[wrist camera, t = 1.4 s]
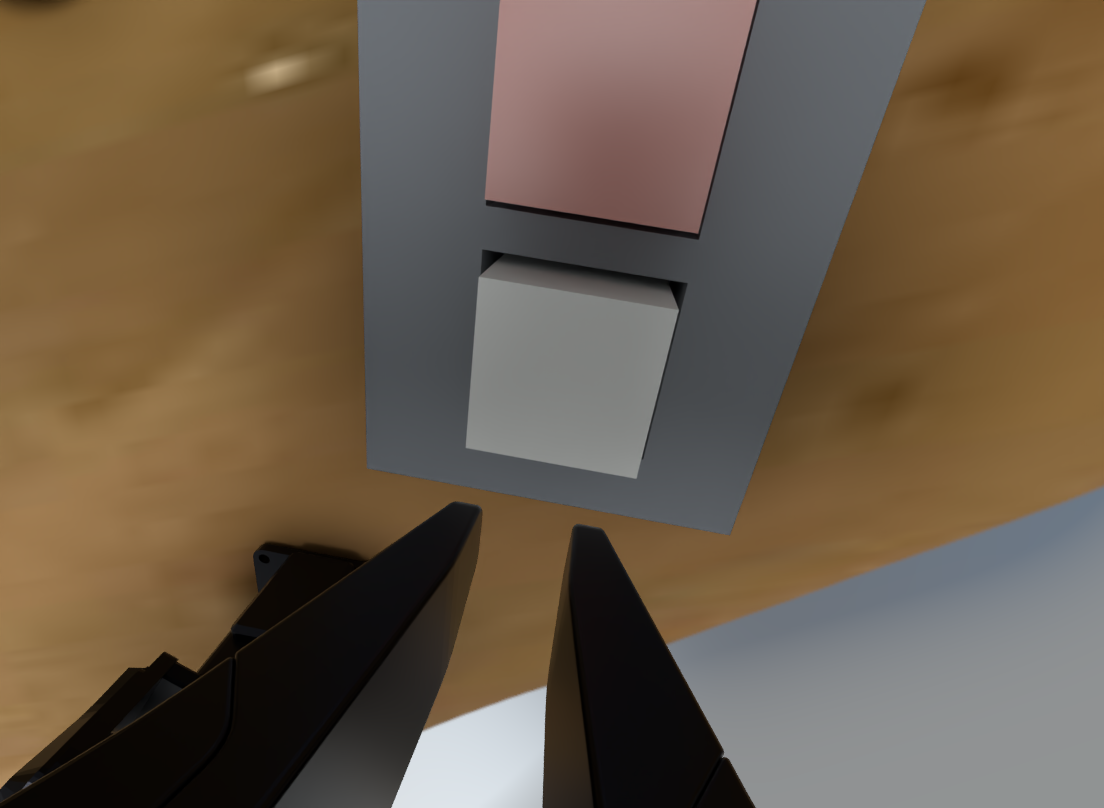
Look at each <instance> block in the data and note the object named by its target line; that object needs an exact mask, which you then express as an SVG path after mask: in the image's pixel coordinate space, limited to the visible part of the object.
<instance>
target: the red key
mask: <svg viewBox="0 0 1104 808" xmlns="http://www.w3.org/2000/svg"><path fill="white" fill-rule="evenodd" d="M756 1H757V0H500V6H499V19H498V32H497V45H496V58H495V71H494V84H493V97H492V110H491V123H490V136H489V149H488V162H487V175H486V188H485V200H492V201H498V202H504V203H510V204H516V205H523V206H529V207H535V208H541V209H548V210H554V211H560V212H566V213H573V214H579V215H585V216H591V217H598V218H604V219H610V220H616V221H623V222H629V223H635V224H641V225H647V226H654V227H660V228H666V229H672V230H679V231H685V232H691V233H697V234H698V232H699V228H700V224H701V220H702V216H703V212H704V208H705V204H706V200H707V196H708V192H709V188H710V184H711V180H712V176H713V172H714V168H715V164H716V160H717V156H718V152H719V148H720V144H721V140H722V136H723V132H724V128H725V124H726V120H727V117H728V113H729V109H730V105H731V101H732V97H733V93H734V89H735V85H736V81H737V77H738V73H739V69H740V65H741V61H742V57H743V53H744V49H745V45H746V41H747V37H748V33H749V29H750V25H751V21H752V17H753V13H754V9H755V5H756Z"/></svg>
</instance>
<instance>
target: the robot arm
mask: <svg viewBox="0 0 1104 808" xmlns="http://www.w3.org/2000/svg"><path fill="white" fill-rule="evenodd" d="M481 523H482V509H481V507H480V506H478V505H474V504H468V503H463V502H452V503H450V504H449V505H447V506H446V507H445V508H443V509H442V510H440V511H439V512H437V513H436V514H434V515H433V516H432V517H430V518H429V519H427V520H426V521H424V522H423V523H422V524H420V525H419V526H417V527H416V528H414V529H413V530H411V531H410V532H409V533H407V534H406V535H404V536H403V537H401V538H400V539H398V540H397V541H396V542H394V543H393V544H391V545H390V546H388V547H387V548H386V549H384V550H383V551H381V552H380V553H378V554H377V555H375V556H374V557H373V558H371V559H370V560H368V561H367V562H360V561H354V560H349V559H344V558H339V557H334V556H328V555H323V554H318V553H313V552H308V551H302V550H297V549H292V548H287V547H282V546H276V545H271V544H263V545H261V546H260V547H259V548H258V549H257V550H256V551H255V553H254V554H253V559H254V566H255V572H256V579H257V586H258V594H257V596H256V597H255V598H254V599H253V600H252V602H251V603H250V604H249V605H248V607H247V608H246V609H245V610H244V611H243V613H242V614H241V615H240V616H239V618H238V619H237V620H236V621H235V622H234V624H233V625H232V627H231V631H230V632H229V633H228V634H227V636H226V637H225V638H224V639H223V640H222V642H221V643H220V644H219V645H218V647H217V648H216V649H215V650H214V652H213V653H212V654H211V655H210V656H209V658H208V659H207V660H206V661H205V663H204V664H203V665H202V666H201V668H200V669H199V670H198V671H197V673H196V672H194V671H192V670H191V669H189V668H187V667H185V666H183V665H182V664H180V663H178V662H177V661H178V659H177V658H176V657H174V656H172V655H170V654H168V653H167V652H163V653H162V654H161V655H160V656H159V657H158V658H157V659H156V660H155V661H154V662H153V663H152V664H151V665H150V666H149V667H148V666H147V667H146V668H128V669H127V670H126V671H125V672H124V673H123V674H122V675H121V676H120V677H119V678H118V680H117V681H116V682H115V683H114V684H113V685H112V686H111V687H110V688H109V689H108V690H107V691H106V692H105V693H104V694H103V695H102V696H101V697H100V698H99V699H98V700H97V701H96V702H95V704H94V705H93V706H92V707H90V708H89V709H88V710H87V711H86V712H85V713H84V714H83V715H82V716H81V717H80V718H79V719H78V720H77V721H76V722H74V723H73V724H72V725H71V726H70V727H69V728H67V729H66V730H65V731H64V732H63V733H62V734H61V735H59V736H58V737H57V738H56V739H55V740H54V741H52V742H51V743H50V744H49V745H48V746H47V747H45V748H44V749H43V750H42V751H41V752H40V753H39V754H37V755H36V756H35V757H34V758H33V759H32V760H30V761H29V762H28V763H27V764H26V765H25V766H24V767H22V768H21V769H20V770H19V771H18V772H17V773H15V774H14V775H13V776H12V777H11V778H10V779H9V780H8V781H7V782H6V783H5V785H4V786H3V787H2V788H1V789H0V808H391V807H392V804H393V802H394V800H395V797H396V795H397V792H398V790H399V787H400V785H401V782H402V780H403V777H404V775H405V772H406V770H407V767H408V765H409V762H410V760H411V758H412V755H413V752H414V750H415V748H416V745H417V743H418V740H419V738H420V735H421V733H422V730H423V728H424V726H425V723H426V721H427V718H428V716H429V713H430V711H431V708H432V706H433V703H434V701H435V698H436V696H437V693H438V691H439V689H440V686H441V683H442V681H443V678H444V675H445V673H446V670H447V667H448V664H449V660H450V657H451V654H452V651H453V647H454V644H455V640H456V636H457V633H458V629H459V626H460V622H461V618H462V615H463V611H464V607H465V604H466V600H467V597H468V593H469V589H470V586H471V582H472V579H473V575H474V571H475V568H476V564H477V559H478V553H479V543H480V533H481ZM544 747H545V748H544V779H543V808H755V806H754V804H753V802H752V801H751V799H750V797H749V795H748V793H747V792H746V790H745V788H744V786H743V784H742V782H741V781H740V779H739V777H738V775H737V773H736V771H735V770H734V768H733V766H732V764H731V762H730V760H729V759H728V758H725V757H723V755H724V751H723V748H722V746H721V744H720V743H719V741H718V739H717V737H716V735H715V733H714V732H713V730H712V728H711V726H710V724H709V723H708V721H707V719H706V717H705V715H704V713H703V711H702V710H701V708H700V706H699V704H698V702H697V701H696V699H695V697H694V695H693V693H692V691H691V689H690V688H689V686H688V684H687V682H686V680H685V679H684V677H683V675H682V673H681V671H680V669H679V667H678V666H677V664H676V662H675V660H674V659H673V657H672V655H671V653H670V651H669V649H668V647H667V645H666V644H665V642H664V640H663V638H662V636H661V634H660V633H659V631H658V629H657V627H656V625H655V623H654V622H653V620H652V618H651V616H650V614H649V612H648V611H647V609H646V607H645V605H644V603H643V601H642V600H641V598H640V596H639V594H638V592H637V590H636V589H635V587H634V585H633V583H632V581H631V580H630V578H629V576H628V574H627V572H626V570H625V569H624V567H623V565H622V563H621V561H620V559H619V558H618V556H617V554H616V552H615V550H614V548H613V547H612V545H611V543H610V541H609V539H608V537H607V536H606V534H605V532H604V531H603V530H602V529H601V528H598V527H592V526H587V525H581V524H576V525H574V527H573V529H572V533H571V538H570V543H569V548H568V553H567V558H566V563H565V569H564V574H563V580H562V586H561V593H560V600H559V606H558V613H557V620H556V626H555V633H554V640H553V646H552V653H551V660H550V667H549V674H548V683H547V695H546V714H545V745H544ZM722 757H723V758H722Z"/></svg>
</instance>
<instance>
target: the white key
mask: <svg viewBox="0 0 1104 808" xmlns="http://www.w3.org/2000/svg"><path fill="white" fill-rule="evenodd" d="M678 311H679V309H678V307H677V304H676V301H675V299H674V296H673V294H672V291H671V288H670V286H669V283H668V280H665V279H659V278H653V277H647V276H641V275H635V274H629V273H623V272H616V271H610V270H604V269H598V268H592V267H586V266H580V265H574V264H568V263H562V262H556V261H550V260H543V259H537V258H531V257H525V256H519V255H513V254H507V253H505V254H504V255H503V256H502V257H500V258H499V259H498V260H497V261H496V262H495V263H494V264H493V265H491V266H490V267H489V268H488V269H487V270H486V271H485V272H484V273H482V274H481V275H480V276H479V280H478V293H477V306H476V319H475V332H474V345H473V358H472V371H471V384H470V397H469V410H468V423H467V436H466V448H469V449H474V450H480V451H485V452H491V453H496V454H502V455H507V456H513V457H518V458H524V459H529V460H535V461H541V462H546V463H552V464H557V465H563V466H568V467H574V468H579V469H585V470H590V471H596V472H601V473H607V474H612V475H618V476H623V477H629V478H634V479H636V478H637V474H638V470H639V466H640V462H641V458H642V454H643V450H644V446H645V442H646V438H647V434H648V430H649V426H650V422H651V418H652V415H653V411H654V407H655V403H656V399H657V395H658V391H659V387H660V383H661V379H662V375H663V371H664V367H665V363H666V359H667V355H668V351H669V347H670V343H671V339H672V335H673V331H674V327H675V323H676V319H677V315H678Z"/></svg>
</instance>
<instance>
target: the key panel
mask: <svg viewBox="0 0 1104 808" xmlns="http://www.w3.org/2000/svg"><path fill="white" fill-rule="evenodd" d="M357 1H358V50H359V99H360V148H361V197H362V246H363V295H364V344H365V394H366V443H367V468H368V469H373V470H378V471H384V472H389V473H395V474H400V475H406V476H411V477H416V478H422V479H427V480H433V481H438V482H444V483H449V484H454V485H460V486H465V487H471V488H476V489H482V490H487V491H492V492H498V493H503V494H509V495H514V496H520V497H525V498H530V499H536V500H541V501H547V502H552V503H558V504H563V505H568V506H574V507H579V508H585V509H590V510H596V511H601V512H606V513H612V514H617V515H623V516H628V517H634V518H639V519H644V520H650V521H655V522H661V523H666V524H672V525H677V526H682V527H688V528H693V529H699V530H704V531H710V532H715V533H720V534H726V535H730V533H731V531H732V528H733V525H734V523H735V520H736V517H737V514H738V512H739V509H740V506H741V504H742V501H743V498H744V495H745V493H746V490H747V487H748V484H749V482H750V479H751V476H752V474H753V471H754V468H755V465H756V463H757V460H758V457H759V455H760V452H761V449H762V446H763V444H764V441H765V438H766V435H767V433H768V430H769V427H770V425H771V422H772V419H773V416H774V414H775V411H776V408H777V405H778V403H779V400H780V397H781V395H782V392H783V389H784V386H785V384H786V381H787V378H788V376H789V373H790V370H791V367H792V365H793V362H794V359H795V356H796V354H797V351H798V348H799V346H800V343H801V340H802V337H803V335H804V332H805V329H806V327H807V324H808V321H809V318H810V316H811V313H812V310H813V307H814V305H815V302H816V299H817V297H818V294H819V291H820V288H821V286H822V283H823V280H824V277H825V275H826V272H827V269H828V267H829V264H830V261H831V258H832V256H833V253H834V250H835V248H836V245H837V242H838V239H839V237H840V234H841V231H842V228H843V226H844V223H845V220H846V218H847V215H848V212H849V209H850V207H851V204H852V201H853V199H854V196H855V193H856V190H857V188H858V185H859V182H860V179H861V177H862V174H863V171H864V169H865V166H866V163H867V160H868V158H869V155H870V152H871V150H872V147H873V144H874V141H875V139H876V136H877V133H878V130H879V128H880V125H881V122H882V120H883V117H884V114H885V111H886V109H887V106H888V103H889V100H890V98H891V95H892V92H893V90H894V87H895V84H896V81H897V79H898V76H899V73H900V71H901V68H902V65H903V62H904V60H905V57H906V54H907V51H908V49H909V46H910V43H911V41H912V38H913V35H914V32H915V30H916V27H917V24H918V22H919V19H920V16H921V13H922V11H923V8H924V5H925V2H926V0H757V1H756V5H755V9H754V13H753V17H752V21H751V25H750V29H749V33H748V37H747V41H746V45H745V49H744V53H743V57H742V61H741V65H740V69H739V73H738V77H737V81H736V85H735V89H734V93H733V97H732V101H731V105H730V109H729V113H728V117H727V120H726V124H725V128H724V132H723V136H722V140H721V144H720V148H719V152H718V156H717V160H716V164H715V168H714V172H713V176H712V180H711V184H710V188H709V192H708V196H707V200H706V204H705V208H704V212H703V216H702V220H701V224H700V228H699V232H698V234H697V233H691V232H685V231H679V230H672V229H666V228H660V227H654V226H647V225H641V224H635V223H629V222H623V221H616V220H610V219H604V218H598V217H591V216H585V215H579V214H573V213H566V212H560V211H554V210H548V209H541V208H535V207H529V206H523V205H516V204H510V203H504V202H498V201H492V200H485V188H486V175H487V162H488V149H489V136H490V123H491V110H492V97H493V84H494V71H495V58H496V45H497V32H498V19H499V6H500V0H357ZM505 253H507V254H513V255H519V256H525V257H531V258H537V259H543V260H550V261H556V262H562V263H568V264H574V265H580V266H586V267H592V268H598V269H604V270H610V271H616V272H623V273H629V274H635V275H641V276H647V277H653V278H659V279H665V280H668V283H669V286H670V288H671V291H672V294H673V296H674V299H675V301H676V304H677V307H678V309H679V311H678V315H677V319H676V323H675V327H674V331H673V335H672V339H671V343H670V347H669V351H668V355H667V359H666V363H665V367H664V371H663V375H662V379H661V383H660V387H659V391H658V395H657V399H656V403H655V407H654V411H653V415H652V418H651V422H650V426H649V430H648V434H647V438H646V442H645V446H644V450H643V454H642V458H641V462H640V466H639V470H638V474H637V478H636V479H634V478H629V477H623V476H618V475H612V474H607V473H601V472H596V471H590V470H585V469H579V468H574V467H568V466H563V465H557V464H552V463H546V462H541V461H535V460H529V459H524V458H518V457H513V456H507V455H502V454H496V453H491V452H485V451H480V450H474V449H469V448H466V436H467V423H468V410H469V397H470V384H471V371H472V358H473V345H474V332H475V319H476V306H477V293H478V280H479V276H480V275H481V274H482V273H484V272H485V271H486V270H487V269H488V268H489V267H490V266H491V265H493V264H494V263H495V262H496V261H497V260H498V259H499V258H500V257H502V256H503V255H504V254H505Z"/></svg>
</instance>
